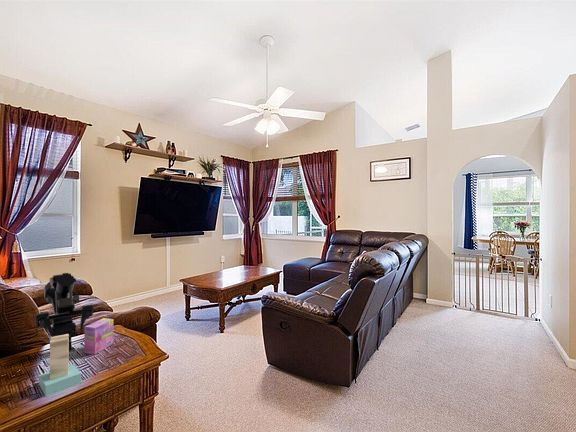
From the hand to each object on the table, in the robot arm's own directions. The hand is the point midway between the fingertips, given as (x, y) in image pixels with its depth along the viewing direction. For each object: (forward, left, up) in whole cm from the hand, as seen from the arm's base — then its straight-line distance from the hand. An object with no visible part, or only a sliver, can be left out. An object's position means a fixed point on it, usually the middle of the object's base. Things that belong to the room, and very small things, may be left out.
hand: (67, 334), depth 115 cm
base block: (+8, -8, -14) cm, 18 cm away
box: (-3, +17, -14) cm, 22 cm away
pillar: (+7, -8, -10) cm, 15 cm away
